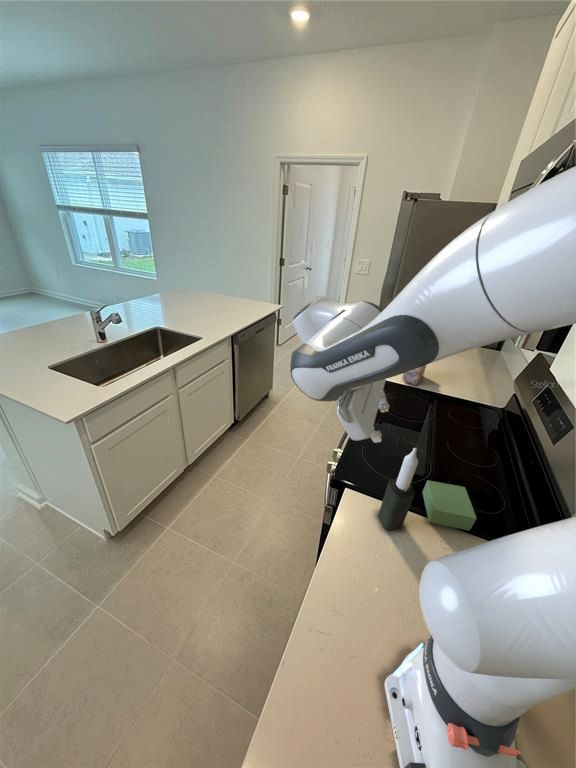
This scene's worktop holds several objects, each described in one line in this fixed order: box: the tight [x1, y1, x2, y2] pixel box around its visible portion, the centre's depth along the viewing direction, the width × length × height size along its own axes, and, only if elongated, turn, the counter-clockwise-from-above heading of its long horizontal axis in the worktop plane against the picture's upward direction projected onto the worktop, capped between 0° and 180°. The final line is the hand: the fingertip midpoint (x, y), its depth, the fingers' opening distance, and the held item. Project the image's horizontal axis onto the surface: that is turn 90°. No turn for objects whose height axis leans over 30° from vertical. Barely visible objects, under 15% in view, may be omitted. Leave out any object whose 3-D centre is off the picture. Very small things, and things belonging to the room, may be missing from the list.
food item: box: [402, 365, 427, 386], centre depth 144 cm, size 14×8×10 cm, turn 147°
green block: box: [421, 479, 477, 532], centre depth 82 cm, size 10×10×5 cm
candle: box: [377, 447, 419, 532], centre depth 73 cm, size 5×5×25 cm
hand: (382, 424), depth 65 cm, fingers open, 8 cm apart
